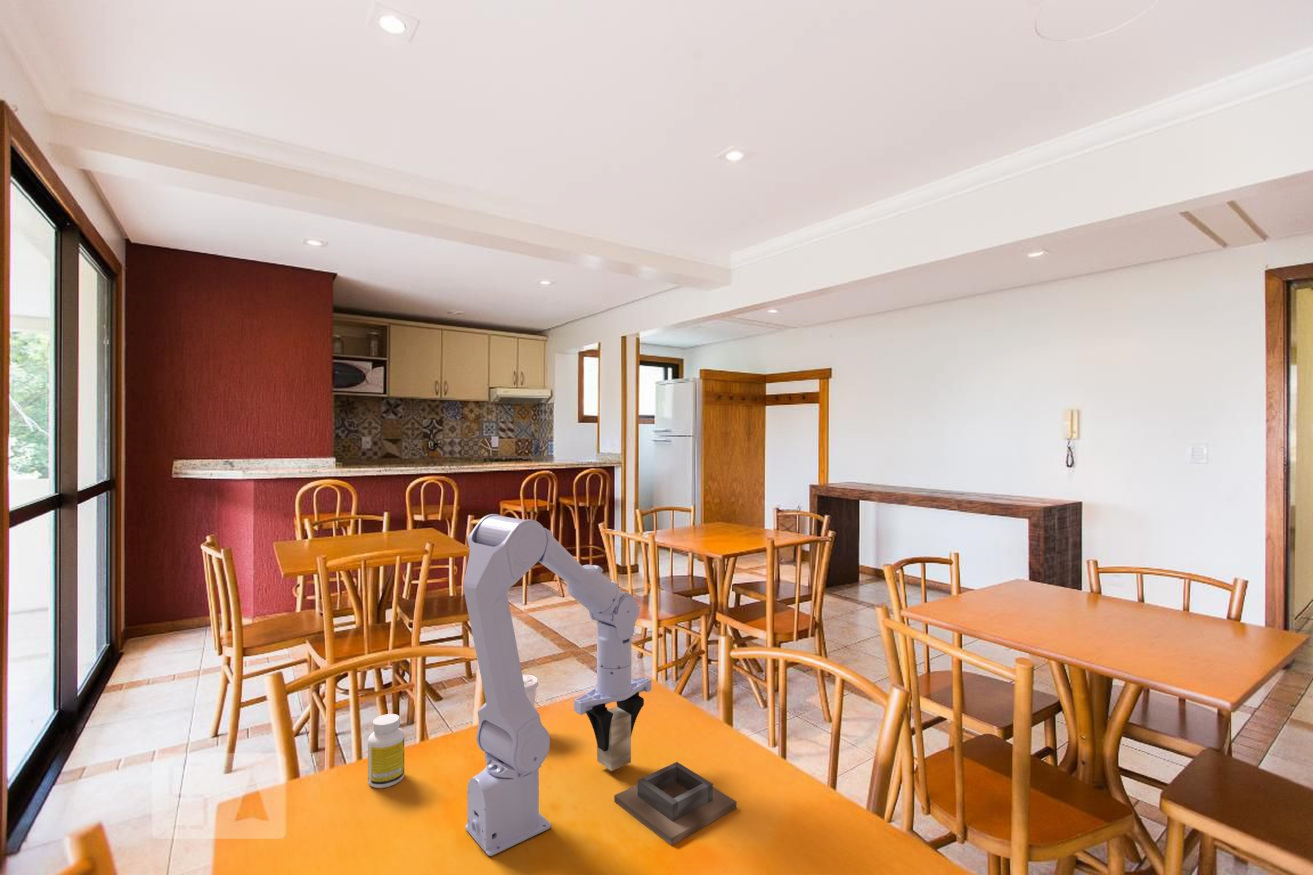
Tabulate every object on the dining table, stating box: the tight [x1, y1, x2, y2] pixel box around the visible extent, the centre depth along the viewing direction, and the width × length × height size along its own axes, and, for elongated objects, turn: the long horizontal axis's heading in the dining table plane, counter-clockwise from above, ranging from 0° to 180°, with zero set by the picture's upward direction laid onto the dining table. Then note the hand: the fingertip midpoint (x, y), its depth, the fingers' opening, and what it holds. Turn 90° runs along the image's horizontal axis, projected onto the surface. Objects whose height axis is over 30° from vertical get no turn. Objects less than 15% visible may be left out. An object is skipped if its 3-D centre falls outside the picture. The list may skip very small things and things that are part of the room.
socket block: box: [613, 761, 738, 846], centre depth 94 cm, size 13×13×4 cm
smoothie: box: [522, 674, 539, 707], centre depth 116 cm, size 6×6×14 cm
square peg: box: [596, 705, 632, 772], centre depth 104 cm, size 4×4×8 cm
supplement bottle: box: [367, 713, 405, 789], centre depth 100 cm, size 5×5×10 cm
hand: (614, 743), depth 104 cm, fingers closed on square peg, 4 cm apart
